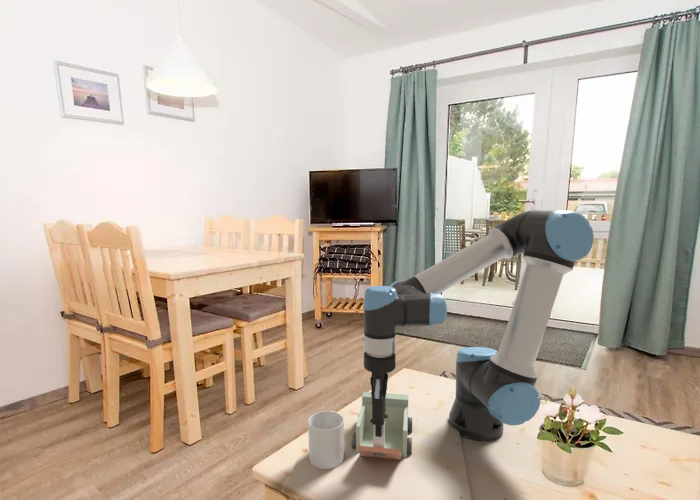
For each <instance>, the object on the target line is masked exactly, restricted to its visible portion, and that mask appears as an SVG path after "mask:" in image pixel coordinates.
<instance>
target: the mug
mask: <svg viewBox="0 0 700 500" xmlns="http://www.w3.org/2000/svg"><path fill="white" fill-rule="evenodd" d="M307 424H308V427H307V428H308V459H309V462H310V463H309V464H310V465H312V466H313V467H314V468H317V469H320V470H330V469H331V470H332V469H335V468H337V467H338V466H341V464H342V463H343V462H344V459H345V419H344V417H343V416H342V415H341V413H338V412H337V411H335V410H322V411H318V412H316V413H313V414H312V415H311V416H310V417H309V418H308V423H307Z"/></svg>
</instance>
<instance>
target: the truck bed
mask: <svg viewBox="0 0 700 500" xmlns="http://www.w3.org/2000/svg"><path fill="white" fill-rule="evenodd" d="M361 398H362V399H361V401H362V403H361V407H360V410H359V413H358V415H357V421H356V425H355V432H353V434H352V441H351V447H352V449H355V452H356V453H359V452H358V446H368V447H373V424H372V423H370V420H371V419H372V395H371V391H363V393H362V395H361ZM385 408H386V410H385V414H387V415H388V418H384V419H385V447H384V448H389V449H400V454H401V456H402V457H404V458H406V457H407V456H408V455H412V453H413V452H412V451H413V450H412V449H413V446H412V445H413V444H412V443H413V437H408V434H409V433H413V417H410V416H409V394H402V393H401V394H399V393H387V392H386V402H385Z"/></svg>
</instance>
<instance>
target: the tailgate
mask: <svg viewBox="0 0 700 500" xmlns="http://www.w3.org/2000/svg"><path fill="white" fill-rule="evenodd" d="M357 453H358V454H359V455H360V457H364V458H365V457H366V458H377V459H387V460H394V461H395V460H398V461H401V460H402V457H403V456H401V454H400V449H389V448H379V447H368V446H358V452H357Z"/></svg>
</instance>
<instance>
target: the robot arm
mask: <svg viewBox="0 0 700 500" xmlns="http://www.w3.org/2000/svg"><path fill="white" fill-rule="evenodd" d="M594 237H595V236H594V230H593V227H592V226H591V225H590V221H589V219H588V218H586V217H585V216H584V215H582V214H581V213H579V212H576V211H573V210H572V211H571V210H565V209H557V210H556V209H555V210H553V209H552V210H550V209H549V210H548V209H547V210H546V209H544V210H543V209H542V210H540V209H531V210H527V211H524V212H521V213H518V214H517V215H516V214H515V216H513V217H510V218H509V219H506V220H505V221H503V222H501V223H500V224H498V225H496V226H494V227H492V228H490V230H489V231H488V234H487V235H486V236H483V237H482V238H480V239H478V240H477V241H475V242H473V243H471V244H469V245H468V246H466V247H464V248H462V249H461V250H459V251H457V252H455V253H452V255H449V256H447V257H446V258H444V259H442V260H441V261H439V262H437V263H436V264H434V265H432V266H430V267H428V268H427V269H425V270H423V271H421V272H419V273H417V274H416V275H414V276H411V277H410V278H408V279H406V280H404V281H402V280H398V281H394V282H391V284H389V285H373V286H369V287H367V288H366V289H365V291H364V296H363V297H364V298H363V336H362V337H361V341H362V342H363V351H364V352H363V368H364V370H365V371H368V372H370V373H371V376H370V386H371V388H370V389H371V390H370V392H371V395H372V419H371V420H370V423H372V424H373V447H379V448H384V447H385V419H384V418H388V415H387V414H385V410H386V408H385V402H386V393H387V392H388V391H387V390H388V381H389V373H392V372H393V371H395V370H396V361H397V360H396V359H397V358H396V357H397V356H396V355H397V354H396V353H395V352H396V351H397V328H402V327H403V328H404V327H406V328H407V327H425V326H426V327H427V326H429V327H431V326H436V325H443V323H444V322H445V321H446V319H447V316H448V306H447V301H446V299H445V296H443V295H442V294H441V293H444V292H445V291H446V290H449V289H450V288H452V287H454V286H456V285H457V284H459V283H461V282H463V281H464V280H467V279H468V278H470V277H472V276H474V275H475V274H478V273H479V272H482V270H484V269H486V268H488V267H490V266H491V265H493V264H494V263H496V262H498V261H501V260H502V259H506V260H510V259H512V258H514V257H515V256H518V255H521V254H522V258H523V260H524V262H525V265H526V266H525V269H524V272H523V276H522V278H521V282H520V284H519V287H518V291H517V294H516V297H515V300H514V303H513V306H512V308H511V312H510V314H509V319H508V321H507V325H506V327H505V331H504V334H503V337H502V340H501V343H500V347H499V350H495V349H493V348H490V347H484V346H483V347H482V346H468V347H463V348H460V349H459V350H458V351H457V353H456V358H455V398H454V401H453V403H452V406H451V409H450V411H449V415H448V421H449V423H450V425H451V427H452V428H453V429H454V430H455V431H458V435H460V436H462V437H464V438H467V439H469V440H470V439H471V440H474V441H492V440H496V439H498V438H500V437H502V435H503V434H504V433H503V432H504V424H505V425H508V426H520V425H523V424H524V423H526V422H529V421H530V420H531V419H533V418H534V417H535V416H536V414H537V413H538V411H539V410H540V409H539V408H540V406H541V395H540V394H539V391H538V389H537V388H536V386H535V385H536V383H537V379H538V377H539V375H538V373H537V371H536V369H535V363H536V360H537V357H538V353H539V352H540V351H539V350H540V348H541V346H542V345H541V344H542V341H543V339H544V335H545V333H546V330H547V329H546V328H547V326H548V322H549V320H550V318H551V317H550V316H551V314H552V311H553V308H554V305H555V302H556V298H557V296H558V292H559V291H560V290H559V289H560V286H561V283H562V280H563V277H564V275H565V274H567V273H569V272H572V271H573V269H574V266H575V264H576V262H577V261H579V260H582V259H584V257H587V256H588V254H590V252H591V250H592V249H593V246H594V245H593V244H594Z"/></svg>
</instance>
